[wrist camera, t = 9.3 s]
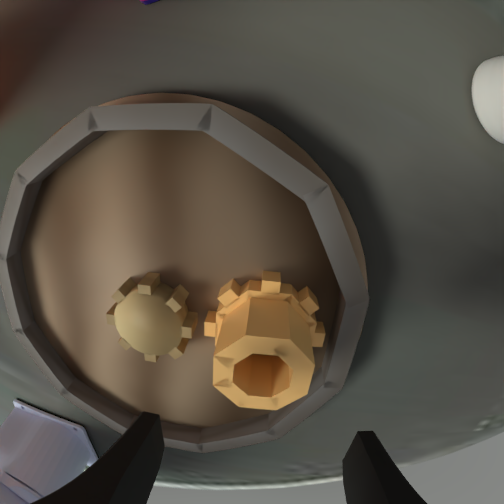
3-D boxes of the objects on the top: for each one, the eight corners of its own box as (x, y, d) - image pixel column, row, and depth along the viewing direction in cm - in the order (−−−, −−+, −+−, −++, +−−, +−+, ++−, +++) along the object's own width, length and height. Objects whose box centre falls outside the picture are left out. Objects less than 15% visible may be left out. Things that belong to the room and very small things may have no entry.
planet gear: (207, 360, 19) (192, 413, 15) (210, 264, 17) (190, 307, 13) (311, 370, 19) (317, 424, 15) (332, 277, 17) (349, 323, 13)
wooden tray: (51, 395, 23) (38, 413, 21) (4, 112, 15) (-22, 113, 13) (318, 443, 23) (320, 468, 20) (397, 119, 14) (418, 117, 12)
